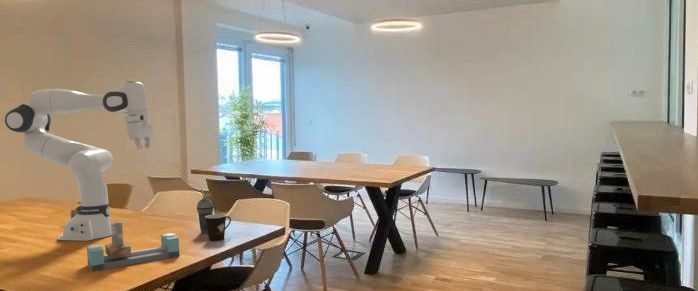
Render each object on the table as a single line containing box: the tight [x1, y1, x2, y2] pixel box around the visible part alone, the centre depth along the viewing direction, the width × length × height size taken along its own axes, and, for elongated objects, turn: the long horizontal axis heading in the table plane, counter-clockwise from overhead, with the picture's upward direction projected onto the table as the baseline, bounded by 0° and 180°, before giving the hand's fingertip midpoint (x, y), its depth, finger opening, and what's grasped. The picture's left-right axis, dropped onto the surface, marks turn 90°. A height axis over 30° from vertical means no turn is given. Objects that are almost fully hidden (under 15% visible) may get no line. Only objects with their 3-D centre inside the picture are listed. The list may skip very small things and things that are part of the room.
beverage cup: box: [196, 188, 214, 235], centre depth 230 cm, size 7×7×20 cm
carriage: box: [104, 220, 132, 258], centre depth 186 cm, size 7×9×12 cm
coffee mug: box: [205, 213, 232, 242], centre depth 219 cm, size 12×9×10 cm
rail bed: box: [86, 232, 181, 272], centre depth 189 cm, size 30×10×8 cm, turn 124°
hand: (143, 148), depth 228 cm, fingers open, 8 cm apart
